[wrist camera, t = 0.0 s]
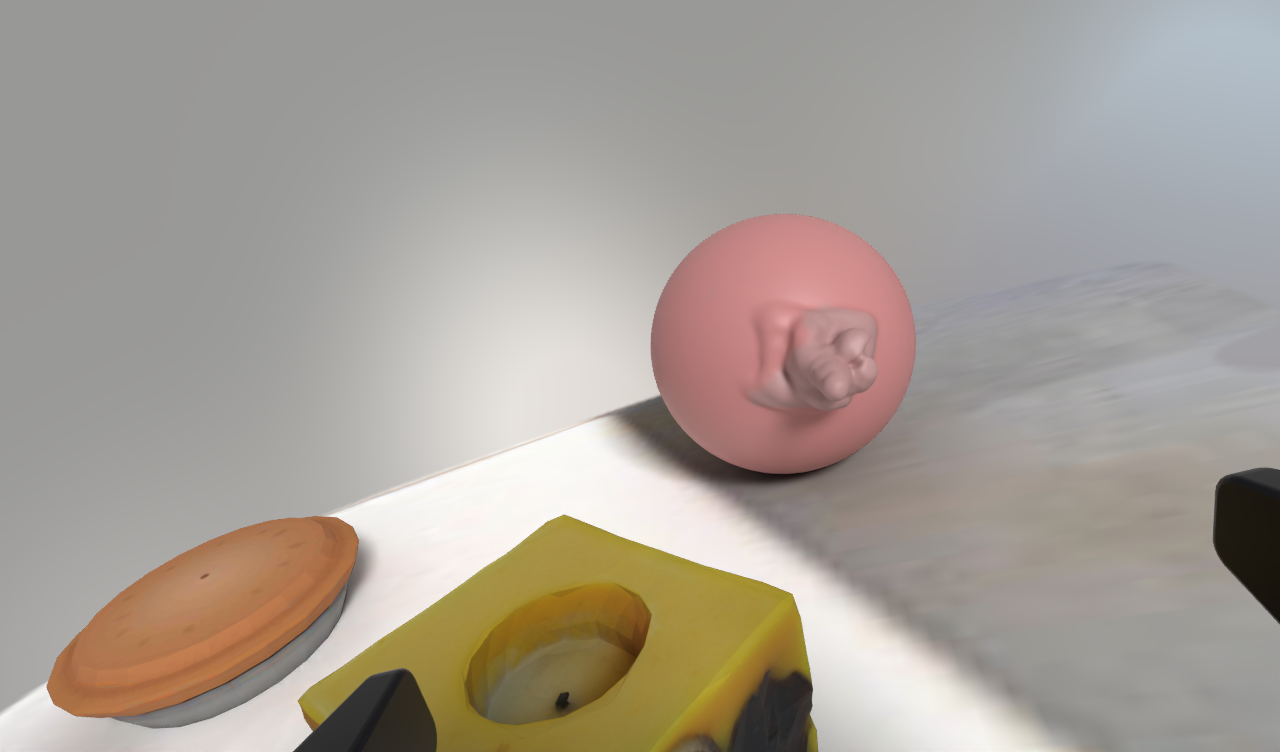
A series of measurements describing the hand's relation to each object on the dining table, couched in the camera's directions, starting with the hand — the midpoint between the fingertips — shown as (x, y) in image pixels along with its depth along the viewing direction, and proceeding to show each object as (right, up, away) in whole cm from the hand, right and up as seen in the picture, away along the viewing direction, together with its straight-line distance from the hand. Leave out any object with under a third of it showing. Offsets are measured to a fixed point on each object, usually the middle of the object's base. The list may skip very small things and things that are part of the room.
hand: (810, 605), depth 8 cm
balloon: (+8, -4, +34) cm, 35 cm away
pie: (-25, -13, +32) cm, 42 cm away
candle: (-2, -14, +14) cm, 20 cm away
